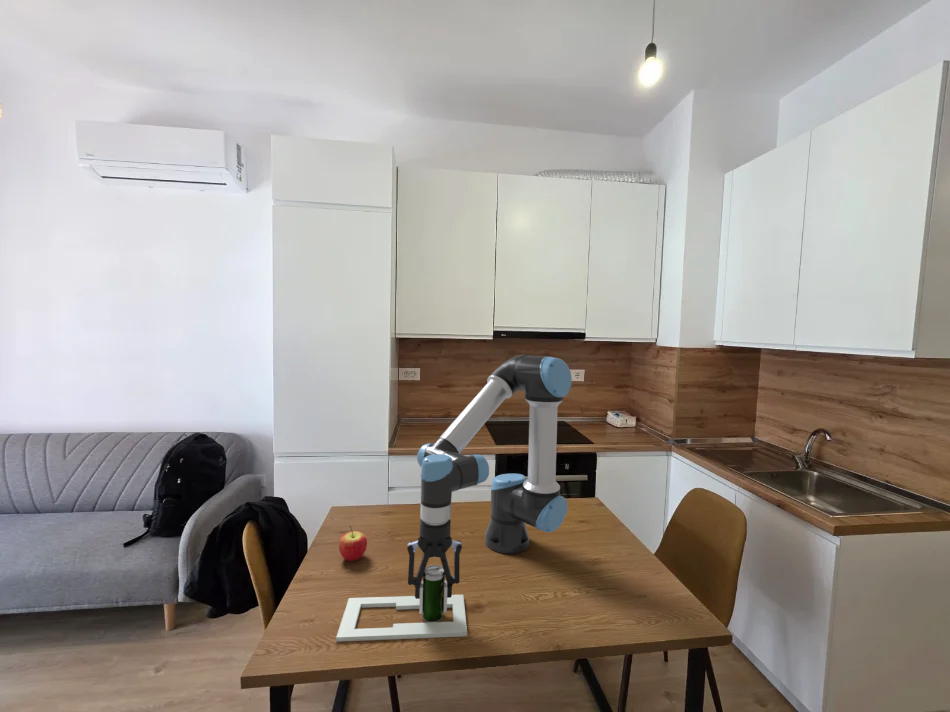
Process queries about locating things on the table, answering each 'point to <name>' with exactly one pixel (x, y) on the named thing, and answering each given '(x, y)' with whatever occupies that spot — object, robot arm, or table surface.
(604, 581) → the table surface
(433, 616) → the beer can
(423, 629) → the keyhole board
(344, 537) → the apple
